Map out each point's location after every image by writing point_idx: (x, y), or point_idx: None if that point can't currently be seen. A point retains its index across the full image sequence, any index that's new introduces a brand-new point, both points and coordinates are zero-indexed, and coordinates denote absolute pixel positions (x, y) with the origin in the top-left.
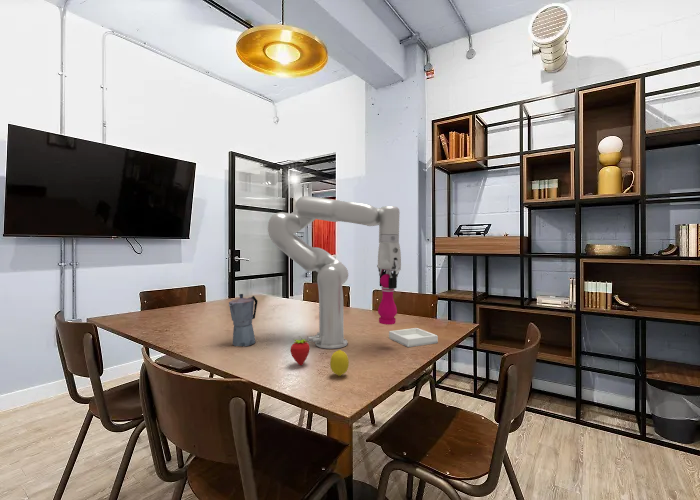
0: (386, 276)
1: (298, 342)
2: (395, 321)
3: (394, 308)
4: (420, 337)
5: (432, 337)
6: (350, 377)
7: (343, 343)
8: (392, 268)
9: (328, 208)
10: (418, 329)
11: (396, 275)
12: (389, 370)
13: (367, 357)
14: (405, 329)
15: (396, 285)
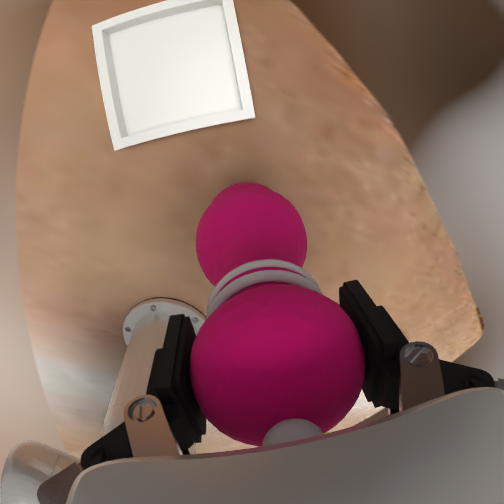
0: (333, 426)
1: (325, 433)
2: (267, 188)
3: (301, 225)
4: (240, 58)
5: (234, 10)
6: (402, 326)
7: (192, 317)
8: (252, 457)
9: None
10: (115, 25)
11: (449, 371)
12: (410, 249)
13: (310, 274)
14: (102, 76)
15: (364, 292)
